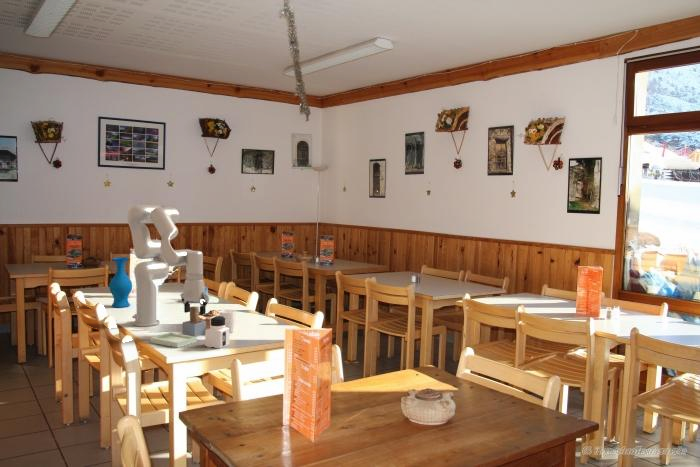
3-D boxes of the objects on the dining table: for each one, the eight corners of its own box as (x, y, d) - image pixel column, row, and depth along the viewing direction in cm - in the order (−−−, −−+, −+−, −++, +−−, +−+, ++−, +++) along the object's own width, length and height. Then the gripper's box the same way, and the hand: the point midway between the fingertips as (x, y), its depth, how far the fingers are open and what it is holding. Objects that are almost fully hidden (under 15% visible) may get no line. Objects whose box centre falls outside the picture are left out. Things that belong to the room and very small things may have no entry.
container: (229, 344, 268) (229, 315, 267) (220, 348, 261) (220, 319, 260) (214, 342, 271) (214, 314, 270) (204, 347, 264) (205, 317, 263)
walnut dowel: (188, 334, 285) (188, 307, 284) (194, 333, 288) (194, 306, 288) (194, 335, 283) (194, 308, 282) (200, 334, 287) (200, 307, 286)
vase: (136, 306, 351) (136, 258, 349) (118, 309, 340) (117, 259, 338) (123, 303, 357) (123, 256, 355) (104, 306, 347) (104, 258, 345)
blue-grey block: (182, 334, 284) (182, 322, 284) (193, 331, 291) (194, 319, 291) (194, 337, 281) (194, 324, 280) (205, 333, 287) (206, 321, 287)
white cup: (231, 334, 288) (231, 313, 287) (216, 332, 290) (216, 312, 289) (238, 330, 296) (238, 310, 295) (222, 329, 297) (223, 309, 297)
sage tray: (150, 342, 269) (150, 337, 269) (170, 337, 279) (170, 332, 279) (177, 347, 261) (177, 342, 261) (196, 342, 272) (196, 337, 272)
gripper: (175, 276, 285) (175, 312, 286) (203, 279, 276) (203, 316, 277) (186, 275, 291) (186, 310, 292) (214, 277, 283) (214, 313, 284)
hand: (194, 313), depth 285 cm, fingers open, 9 cm apart
